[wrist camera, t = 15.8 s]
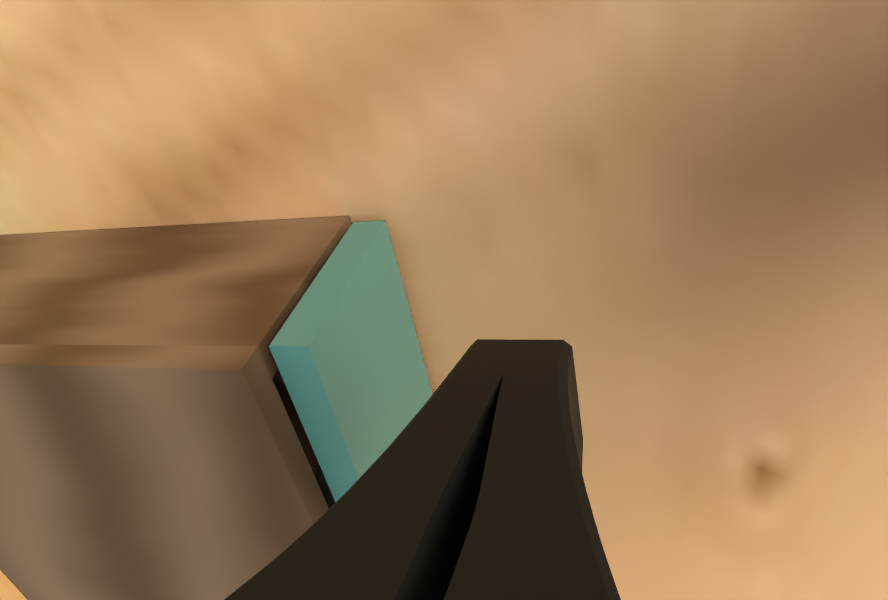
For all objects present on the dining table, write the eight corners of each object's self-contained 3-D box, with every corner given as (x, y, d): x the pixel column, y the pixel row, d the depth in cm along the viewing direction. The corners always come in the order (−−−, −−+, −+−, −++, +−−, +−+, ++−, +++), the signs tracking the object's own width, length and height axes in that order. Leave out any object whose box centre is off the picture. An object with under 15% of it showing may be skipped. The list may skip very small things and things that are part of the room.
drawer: (386, 218, 20) (308, 346, 16) (478, 558, 29) (445, 701, 24) (16, 238, 24) (-128, 343, 20) (195, 529, 33) (124, 646, 29)
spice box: (348, 215, 21) (241, 369, 15) (450, 549, 30) (404, 719, 24) (-10, 235, 25) (-190, 361, 20) (173, 521, 34) (82, 660, 29)
